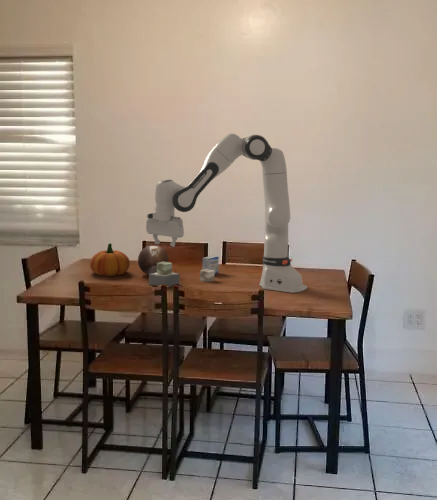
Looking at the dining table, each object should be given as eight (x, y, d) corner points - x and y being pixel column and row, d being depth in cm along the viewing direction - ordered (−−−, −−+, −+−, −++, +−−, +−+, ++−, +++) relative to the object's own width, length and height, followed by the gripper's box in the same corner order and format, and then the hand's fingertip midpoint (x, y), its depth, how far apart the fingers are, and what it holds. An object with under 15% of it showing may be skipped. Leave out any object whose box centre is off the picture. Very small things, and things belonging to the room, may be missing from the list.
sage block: (172, 273, 285) (172, 262, 284) (164, 275, 281) (165, 264, 280) (163, 271, 288) (164, 261, 287) (156, 273, 284) (156, 263, 283)
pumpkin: (100, 279, 292) (100, 248, 289) (83, 272, 307) (83, 242, 304) (136, 275, 303) (136, 245, 301) (118, 268, 318) (118, 239, 316)
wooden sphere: (144, 279, 294) (144, 248, 292) (133, 273, 308) (133, 243, 305) (172, 277, 301) (173, 247, 298) (161, 270, 314) (161, 242, 312)
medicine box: (208, 275, 306) (209, 258, 305) (202, 274, 309) (202, 257, 307) (218, 273, 313) (218, 256, 311) (211, 271, 315) (212, 255, 314)
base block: (179, 284, 287) (179, 273, 286) (165, 288, 279) (165, 276, 278) (163, 280, 293) (163, 270, 292) (149, 284, 285) (149, 273, 284)
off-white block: (214, 280, 296) (214, 270, 295) (208, 282, 292) (208, 272, 291) (206, 278, 299) (206, 268, 298) (200, 280, 295) (200, 270, 294)
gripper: (186, 216, 276) (186, 246, 279) (153, 213, 288) (153, 241, 291) (177, 218, 271) (177, 248, 274) (143, 214, 283) (144, 243, 286)
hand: (164, 245), depth 282 cm, fingers open, 8 cm apart
